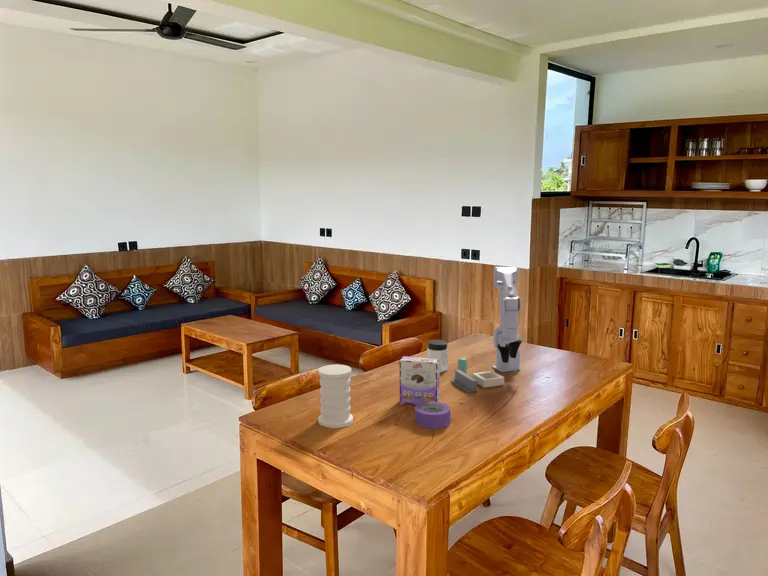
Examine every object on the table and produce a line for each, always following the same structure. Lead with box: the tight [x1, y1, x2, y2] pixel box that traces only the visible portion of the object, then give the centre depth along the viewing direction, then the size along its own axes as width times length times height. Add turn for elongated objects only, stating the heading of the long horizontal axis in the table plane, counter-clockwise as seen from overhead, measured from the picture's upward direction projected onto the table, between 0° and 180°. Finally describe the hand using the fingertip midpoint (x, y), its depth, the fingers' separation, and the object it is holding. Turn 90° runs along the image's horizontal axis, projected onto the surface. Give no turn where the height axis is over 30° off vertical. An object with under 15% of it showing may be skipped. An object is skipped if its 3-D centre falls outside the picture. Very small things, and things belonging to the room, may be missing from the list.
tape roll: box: [414, 401, 452, 430], centre depth 196 cm, size 12×12×5 cm
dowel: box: [457, 357, 468, 375], centre depth 242 cm, size 4×4×7 cm
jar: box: [426, 339, 449, 373], centre depth 250 cm, size 9×8×12 cm
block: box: [471, 370, 505, 389], centre depth 234 cm, size 9×9×3 cm
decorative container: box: [317, 364, 354, 429], centre depth 195 cm, size 12×12×18 cm
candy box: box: [398, 355, 441, 406], centre depth 212 cm, size 14×6×16 cm, turn 74°
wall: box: [450, 369, 478, 394], centre depth 230 cm, size 4×14×4 cm, turn 21°
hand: (509, 360), depth 236 cm, fingers open, 7 cm apart
